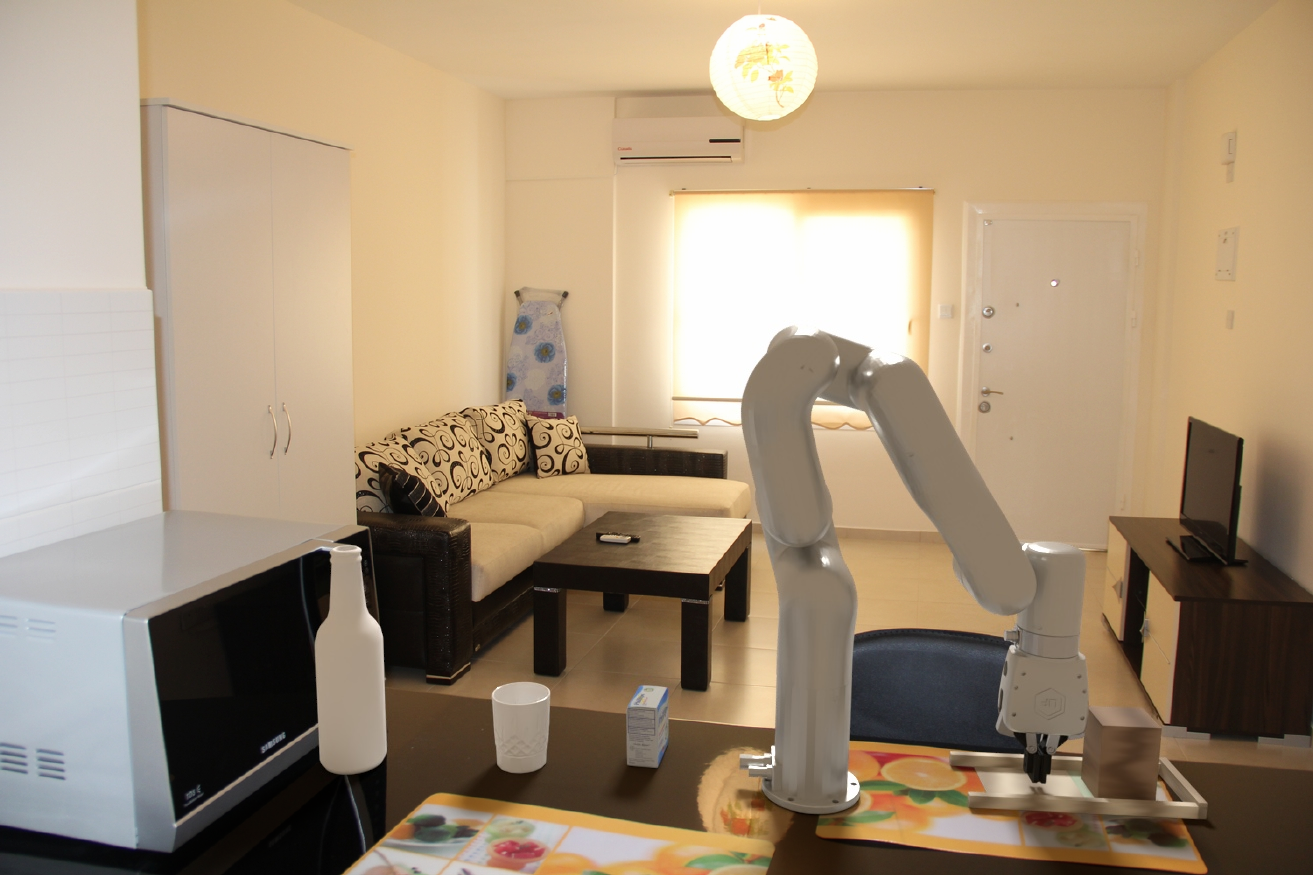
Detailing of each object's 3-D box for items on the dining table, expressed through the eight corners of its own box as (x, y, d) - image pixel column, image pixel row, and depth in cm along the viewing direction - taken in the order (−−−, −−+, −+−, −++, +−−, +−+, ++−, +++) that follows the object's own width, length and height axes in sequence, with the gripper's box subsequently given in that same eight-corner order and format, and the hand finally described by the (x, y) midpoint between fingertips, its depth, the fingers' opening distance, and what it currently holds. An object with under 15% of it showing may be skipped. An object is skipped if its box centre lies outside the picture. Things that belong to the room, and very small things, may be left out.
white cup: (562, 758, 137) (561, 689, 136) (525, 781, 131) (524, 709, 129) (518, 744, 141) (517, 677, 140) (480, 766, 135) (479, 696, 133)
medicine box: (657, 769, 134) (658, 708, 133) (625, 766, 135) (625, 705, 134) (668, 743, 142) (669, 686, 141) (638, 740, 143) (638, 683, 141)
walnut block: (1097, 801, 123) (1102, 725, 122) (1080, 778, 129) (1086, 705, 128) (1155, 804, 123) (1161, 727, 121) (1136, 780, 129) (1142, 707, 127)
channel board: (968, 818, 122) (969, 791, 122) (948, 771, 134) (949, 747, 133) (1205, 830, 120) (1207, 803, 119) (1163, 782, 132) (1165, 757, 131)
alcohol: (307, 771, 133) (296, 554, 128) (342, 743, 141) (334, 538, 137) (366, 779, 131) (358, 559, 126) (398, 750, 139) (392, 542, 135)
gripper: (993, 648, 121) (983, 789, 124) (1119, 654, 120) (1106, 796, 122) (979, 628, 128) (969, 761, 131) (1098, 633, 127) (1086, 768, 130)
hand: (1035, 778), depth 127 cm, fingers closed
